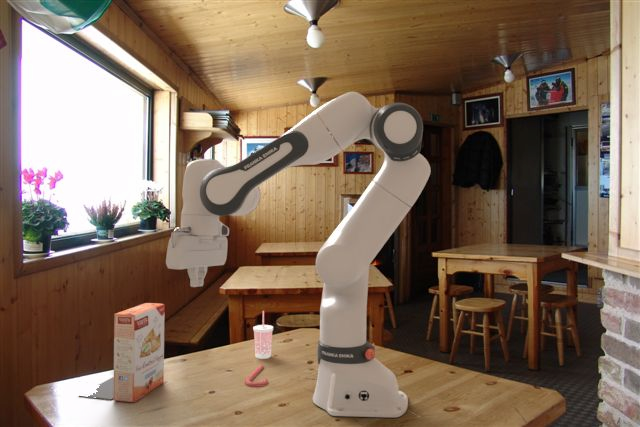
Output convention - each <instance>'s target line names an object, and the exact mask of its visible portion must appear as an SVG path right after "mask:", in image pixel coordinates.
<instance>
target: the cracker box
mask: <svg viewBox="0 0 640 427" xmlns="http://www.w3.org/2000/svg"><path fill="white" fill-rule="evenodd" d="M165 307H166V305H165V304H164V303H160V302H159V303H158V302H157V303H156V302H154V303H153V302H145V303H141V304H138V305H136V306H134V307H133V306H132V307H130V308H128V309H125V310H122V311H119V312H117V313H114V314H113V315H114V318H113V320H114V323H113V324H114V327H113V338H114V339H113V377H114V399H113V401H115V402H123V403H124V402H125V403H136V402H137V401H138V400H140V399H141V398H143V397H145V396H146V395H147V394H149V393H150V392H152V391H154V390H155V389H156V388H158V387H160V386H161V385H162V384H164V374H165V373H164V368H165V363H164V362H165V315H166V314H165V310H166V308H165Z"/></svg>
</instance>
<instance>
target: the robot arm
mask: <svg viewBox="0 0 640 427" xmlns="http://www.w3.org/2000/svg"><path fill="white" fill-rule="evenodd" d="M423 132H424V123H423V119H422V117H421V115H420V114H419V112H418V110H417V109H415V107H414V106H412V105H409V104H408V103H405V102H404V103H403V102H393V103H389V104H387V105H384V106H383V107H374V106H373V105H372V104H371V103H370V101H369V99H367V98H366V97H365V95H362V94H361V93H359V92H357V91H349V92H346V93H344V94H341V95H339V96H337V97H335V98H333V99H331V100H329V101H328V102H326V103H324V104H323V105H321V106H319V107H318V108H317V109H315V110H314V111H312V112H311V113H309V114H308V115H307V116H306V117H304V118H303V119H301V121H299V122H298V123H296V124H295V125H294V126H293V127H292V128H290V129H289V130H287V131H286V132H284V133H283V134H282V135H280V136H279V137H278V138H276V139H275V140H273V141H271V142H269V143H268V144H266V145H264V146H263V147H261V148H260V149H258V150H256V151H255V152H254V153H252V154H250V155H248V156H247V157H246V158H244V159H242V160H240V161H239V162H238V163H235V164H232V165H230V166H225V165H223V164H222V163H221V162H220V161H219V160H217V159H213V158H200V159H195V160H192V161H191V162H189V163H188V164H187V165H186V168H185V171H184V175H183V182H182V193H181V196H182V201H183V202H182V204H183V206H182V209H181V213H180V226H179V227H175V229H174V230H172V231H173V232H171V236H170V237H169V240H168V244H167V251H166V258H165V264H166V267H167V269H170V270H186V269H187V274H188V277H189V279H190V280H189V281H190V283H189V286H190V287H191V288H197V287H203V286H204V282H205V281H204V279H205V278H206V275H207V273H208V268H209V267H214V266H215V267H216V266H224V265H225V264H226V261H227V258H228V257H227V256H228V238H227V237H228V236H229V234H230V228H229V227H228V226H227V225H225V224H224V223H222V221H220V217H224V216H245V215H248V214H251V213H252V212H254V211H255V210H256V209H257V207H258V206H259V204H260V200H261V190H260V188H259V186H260V185H262V184H263V183H266V182H267V181H268V180H269V179H271V178H273V177H274V176H276V175H278V174H279V173H281V172H283V171H285V170H287V169H289V168H292V167H297V166H307V165H308V166H310V165H311V166H313V165H319V164H321V163H324V162H325V161H328V160H329V159H332V158H333V157H335V156H337V155H338V154H340V153H342V151H344V150H346V149H347V148H349V146H350V145H351V146H352V145H353V144H354V143H356V142H358V141H360V140H364V139H365V140H366V141H367V142H369V143H370V144H371V145H372V146H374V147H375V148H377V149H378V150H380V151H382V152H383V155H384V156H383V157H384V158H383V163H382V165H381V168H380V169H379V171H378V172H377V173H376V174H375V176H374V177H373V178H372V180H371V182H370V183H369V184H368V186H367V187H366V189H364V191H363V192H362V194H361V195H360V196H359V198H358V200H357V201H356V203H355V204H354V205H353V206H352V208H351V209H350V211H349V212H348V213H347V214H346V215H345V216H344V217H343V219H342V220H341V221H340V223H339V224H338V226H337V227H336V228H335V229H334V230H333V232H332V233H331V234H330V236H329V237H328V238H327V239H326V241H325V242H324V244H322V246H321V247H320V249H319V251H318V252H317V254H316V258H315V270H316V274H317V276H318V277H319V279H320V280H321V281H322V282H323V287H322V293H321V302H320V308H319V339H318V343H317V348H316V349H317V351H316V352H317V353H316V354H317V364H318V370H317V377H316V383H315V384H316V385H315V389H314V393H313V395H312V402H313V403H314V404H315V405H316V406H317V407H319V408H321V409H323V410H324V411H326V412H327V414H329V415H330V416H333V417H359V418H360V417H364V418H399V417H401V416H403V415H404V414H405V413H406V412H407V410H408V406H409V400H408V396H407V394H406V393H405V392H404V391H402V390H399V384H398V380H397V378H396V375H395V374H394V372H393V371H392V370H391V369H389V368H388V367H387V366H385V365H384V364H383V363H381V362H380V361H379V360H378V359H377V358H376V357H375V355H376V354H375V352H376V350H375V342H372V343H371V342H369V341H368V340H367V311H368V310H367V306H368V293H369V292H368V291H369V276H370V275H369V273H370V265H371V263H372V262H373V261H374V259H375V258H376V256H377V255H378V253H379V252H380V251H381V250H382V248H383V247H384V245H385V244H386V243H387V242H388V240H389V239H390V237H391V236H392V235H393V233H394V232H395V231H396V229H397V228H398V227H399V226H400V224H401V222H402V221H403V219H404V218H405V217H406V216H407V214H408V212H410V210H411V209H412V207H413V206H414V204H415V203H416V202H417V200H418V198H419V196H420V195H421V193H422V191H423V190H424V188H425V186H426V185H427V182H428V180H429V177H430V175H431V172H432V171H431V165H430V163H429V161H428V159H427V158H426V157H424V155H423V154H421V153H420V152H421V150H422V149H421V148H422V141H423Z"/></svg>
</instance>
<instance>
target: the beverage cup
mask: <svg viewBox="0 0 640 427" xmlns="http://www.w3.org/2000/svg"><path fill="white" fill-rule="evenodd" d="M252 329H253V336H254V351H255V352H254V354H255V358H257V359H260V360H265V359H269V358H271V355H272V343H273V342H272V340H273V331H274V326H273V325H271V324H270V325H269V324H265V310H262V324H257V325H255V326H253V327H252Z"/></svg>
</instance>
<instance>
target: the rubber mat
mask: <svg viewBox="0 0 640 427" xmlns="http://www.w3.org/2000/svg"><path fill="white" fill-rule="evenodd" d="M98 385H100V386H99V388H97V389H96V390H97V391H98V392H96V394H95V393H93V395H90V396H88V397H96V398H100V399H99V400H104V399H106V401H114V376H112V377H110V378H109V379H107V380H105V381H103V382H101V383H99V384H98Z"/></svg>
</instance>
